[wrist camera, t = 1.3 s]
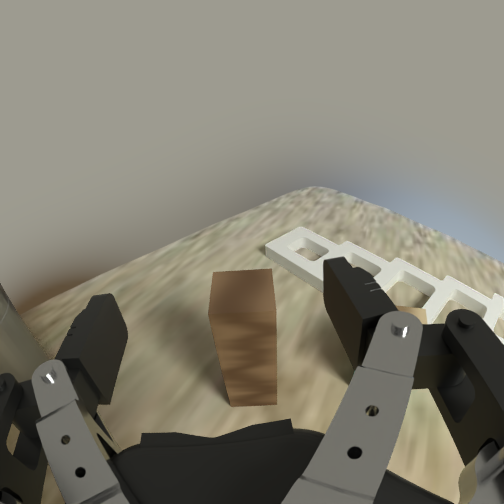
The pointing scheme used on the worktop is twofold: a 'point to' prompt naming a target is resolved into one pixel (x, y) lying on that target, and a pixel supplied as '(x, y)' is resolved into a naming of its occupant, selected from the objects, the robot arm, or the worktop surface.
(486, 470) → the robot arm
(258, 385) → the walnut column
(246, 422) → the worktop surface
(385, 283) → the holder
